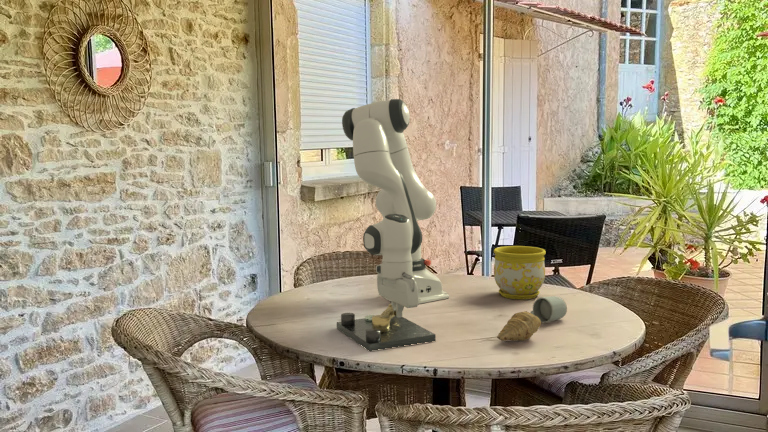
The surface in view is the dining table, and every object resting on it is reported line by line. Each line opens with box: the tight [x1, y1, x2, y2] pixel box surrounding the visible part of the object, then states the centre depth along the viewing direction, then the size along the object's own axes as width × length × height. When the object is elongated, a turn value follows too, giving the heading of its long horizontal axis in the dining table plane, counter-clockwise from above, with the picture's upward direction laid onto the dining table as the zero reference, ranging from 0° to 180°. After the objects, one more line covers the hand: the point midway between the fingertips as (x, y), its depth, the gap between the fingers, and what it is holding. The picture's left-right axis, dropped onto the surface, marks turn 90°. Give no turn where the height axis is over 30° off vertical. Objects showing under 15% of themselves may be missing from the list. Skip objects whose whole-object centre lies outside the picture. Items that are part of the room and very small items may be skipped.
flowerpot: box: [493, 245, 546, 300], centre depth 240 cm, size 18×18×16 cm
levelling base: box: [336, 312, 437, 352], centre depth 195 cm, size 20×24×5 cm
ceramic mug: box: [529, 295, 568, 324], centre depth 210 cm, size 11×8×8 cm
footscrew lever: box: [372, 303, 394, 332], centre depth 198 cm, size 19×5×4 cm, turn 165°
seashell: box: [496, 310, 542, 342], centre depth 187 cm, size 14×8×8 cm, turn 132°
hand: (397, 316), depth 200 cm, fingers closed
